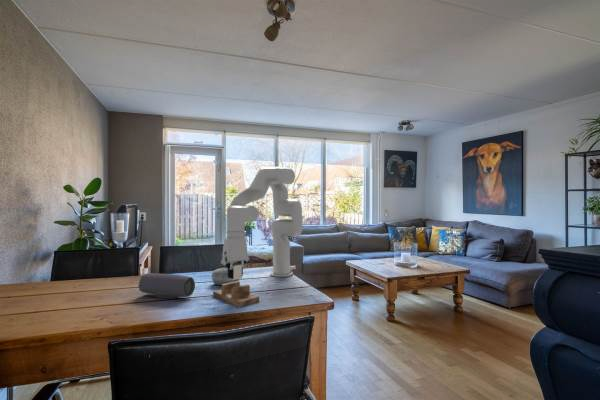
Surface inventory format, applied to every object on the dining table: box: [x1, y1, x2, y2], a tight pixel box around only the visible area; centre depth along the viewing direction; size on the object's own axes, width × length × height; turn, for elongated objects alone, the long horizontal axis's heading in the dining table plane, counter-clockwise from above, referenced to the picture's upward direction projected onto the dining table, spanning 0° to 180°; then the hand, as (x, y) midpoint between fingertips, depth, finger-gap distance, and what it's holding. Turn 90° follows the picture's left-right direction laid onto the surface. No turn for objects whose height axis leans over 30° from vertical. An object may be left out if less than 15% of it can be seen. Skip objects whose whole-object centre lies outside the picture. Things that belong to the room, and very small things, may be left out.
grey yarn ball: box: [211, 267, 240, 286], centre depth 159 cm, size 14×10×10 cm
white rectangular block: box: [229, 261, 243, 280], centre depth 137 cm, size 4×4×7 cm
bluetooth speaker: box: [138, 272, 196, 300], centre depth 139 cm, size 23×9×10 cm, turn 74°
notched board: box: [212, 280, 260, 308], centre depth 137 cm, size 10×20×6 cm, turn 45°
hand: (235, 276), depth 137 cm, fingers closed on white rectangular block, 4 cm apart
